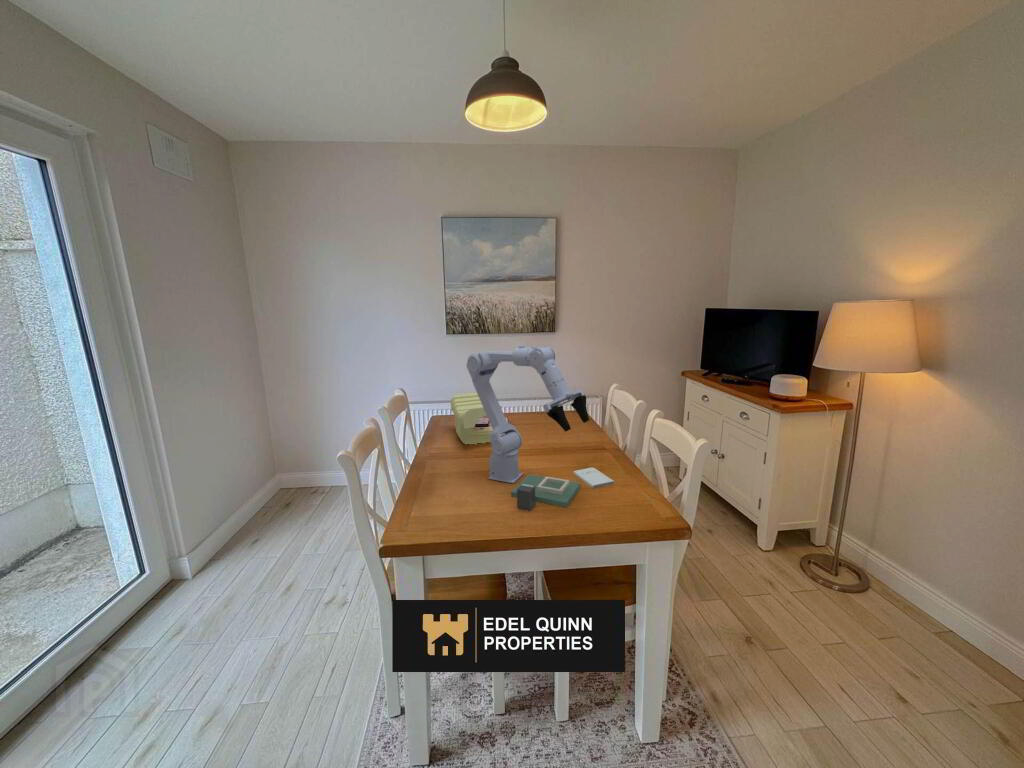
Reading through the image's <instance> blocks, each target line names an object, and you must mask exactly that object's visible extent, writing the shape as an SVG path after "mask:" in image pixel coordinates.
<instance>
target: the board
mask: <svg viewBox="0 0 1024 768" xmlns="http://www.w3.org/2000/svg"><path fill="white" fill-rule="evenodd" d="M522 484H526V485H532V486H535V502H538V503H543V504H548V505H553V506H557V507H562V508H568V507H569V505H570V503H571V502H572V501H573V499H574V498H575V496H576V495H577V493H578V492H579V490H580V489H581V486H582V485H581V482H577V481H573V480H572V481H571V480H568V479H564V478H557V477H552V476H542V475H536V474H531V473H530V474H528V475H527V476H526V477H525V478H523V480H521V482H519V483H518V484H517V486H515V487H514V489H512V490H511V491H510V494H511V495H510V497H512V498H513V497H514V498H517V489H518V488H519V487H520V486H521V485H522Z"/></svg>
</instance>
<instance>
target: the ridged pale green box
mask: <svg viewBox="0 0 1024 768" xmlns="http://www.w3.org/2000/svg"><path fill="white" fill-rule="evenodd" d="M500 407H501V409H502V410H503V408H502V405H500ZM450 409H451V410H450V411H452V413H453V416H454V424H455V431H456V434H457V436H458V437H459V439H460V440H461V442H462V443H463V444H464V445H466V446H468V445H467V444H475V445H478V444H477V443H482V444H487V443H486V442H489V443H491V440H490V438H489V436H490V434H491V432H492V429H478V430H474V428H475V427H476V424H477V422H478V420H480V419H481V418H484V417H487V415H486V412H485V410H484V408H483V405H482V403H481V401H480V399H479V396H478V394H477V392H468V393H467V392H465V393H458V394H455V395H453V396H452V397H451V400H450ZM472 428H473V429H472Z"/></svg>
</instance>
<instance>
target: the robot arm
mask: <svg viewBox="0 0 1024 768" xmlns="http://www.w3.org/2000/svg"><path fill="white" fill-rule="evenodd" d="M501 362H503V363H505V362H511V363H513V364H514V365H515V366H517V367H531V368H533V369H535V370H536V372H537V374H539V376H540V378H541V380H542V381H543V383H544V385H545V387H546V389H547V392H548V393H549V395H550V397H551V399H552V400H551V401H549V402H547V403H545V404H544V405H542V407H543V410H544V412H545V413H546V414H547V416H548V417H549V418H551V419H552V420H554V421H555V422H556V424H558V425H559V426H560V427H561V429H563V431H564V432H565V433H567V432H568V431H570V430H572V428H571V425H570V422H569V420H568V418H567V417H566V414H565V411H564V405H566V404H568V403H570V402H572V403H571V404H570V406H571V407H572V408H573V409H574V411H576V413H577V415H578V416H579V418H580V421H582V423H583V424H585V423H587V422H589V421H590V417H589V412H588V409H587V396H586V394H585V393H584V391H583V390H582V389H579V390H576V391H571V390H570V388H569V385H568V383H567V381H566V380H565V378H564V376H563V374H562V373H561V370H560V368H559V366H558V364H557V363H556V354H555V350H553V348H551V347H550V346H549V347H548V346H543V347H539V348H538V347H537V346H536V345H532V346H531V347H526V346H525V345H518V347H516V348H514V350H511V351H510V350H499V349H497V350H489V351H484V352H480V353H479V352H478V353H472V354H470V355H469V356H468V358H467V362H466V369H467V371H468V373H469V375H470V377H471V382H472V384H473V388H474V389H475V391H476V392H477V394H478V396H479V399H480V401H481V403H482V405H483V408H484V410H485V412H486V415H487V416H486V417H487V419H488V421H489V423H490V427H491V431H492V432H491V434H490V436H489V438H490V440H491V442H490V444H491V445H490V446H491V449H492V452H491V453H490V456H489V463H488V464H489V465H488V466H489V477H488V479H489V480H493V481H498V482H504V483H508V484H515V483H516V482H517V481H518V480H519V479H520V478H521V477H523V475H524V473H523V472H519V452H520V448H521V447H522V445H523V438H522V436H521V434H520V432H519V431H518V430H517V428H516V426H514V425H513V424H511V423H510V422H508V421H507V418H506V416H505V414H504V412H503V408H502V409H501V407H500V406H501V405H500V402H499V401H498V399H497V396H496V394H495V393H496V392H495V391H494V389H493V387H492V385H491V383H490V380H491V379H492V377H493V375H494V374H495V371H496V370H497V368H498V366H499V364H501Z"/></svg>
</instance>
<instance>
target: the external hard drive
mask: <svg viewBox="0 0 1024 768" xmlns="http://www.w3.org/2000/svg"><path fill="white" fill-rule="evenodd" d="M573 475H574V476H576V477H577V478H578V477H579V479H580V480H581V481H583V483H585V484H586V485H587V486H589V487H590V488H592V489H597V488H602V487H607V486H611V485H615V481H614V480H613V479H612V478H610V477H609V476H607V475H605V473H602V472H601V471H599V470H598V469H596V468H595V467H587V468H582V469H579V470H574V471H573ZM610 484H611V485H610Z"/></svg>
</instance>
